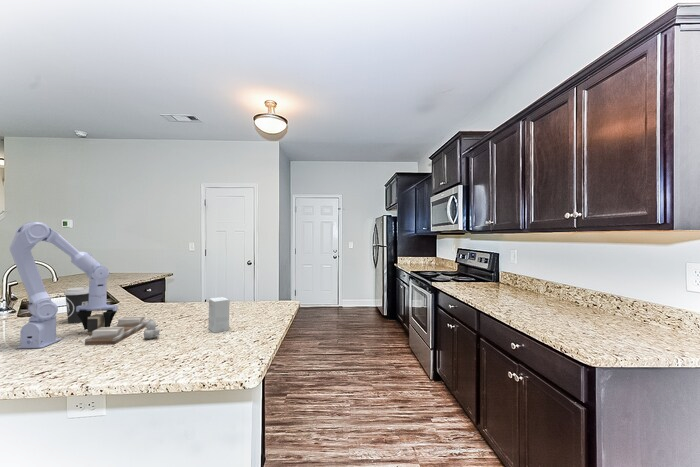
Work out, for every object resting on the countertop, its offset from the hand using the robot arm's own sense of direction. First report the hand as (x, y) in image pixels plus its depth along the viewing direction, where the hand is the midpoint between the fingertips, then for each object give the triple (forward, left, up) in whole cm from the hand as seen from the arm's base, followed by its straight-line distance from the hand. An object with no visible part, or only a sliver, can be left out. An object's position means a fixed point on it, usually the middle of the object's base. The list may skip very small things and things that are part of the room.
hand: (97, 328), depth 130 cm
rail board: (-2, -10, -2) cm, 10 cm away
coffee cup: (+18, +19, -2) cm, 26 cm away
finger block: (0, 0, -2) cm, 2 cm away
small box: (+1, -47, -2) cm, 47 cm away
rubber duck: (-9, -25, -2) cm, 27 cm away
